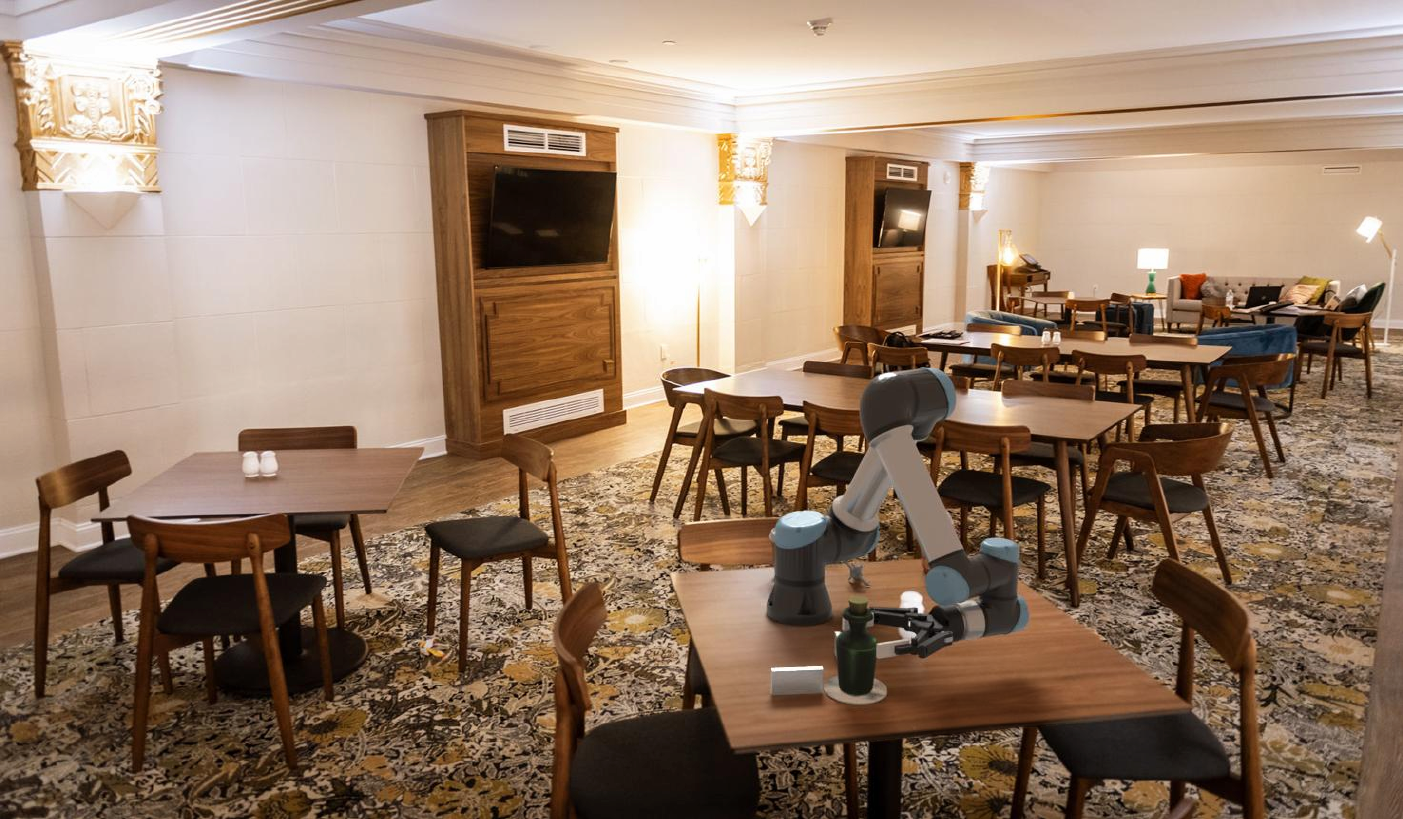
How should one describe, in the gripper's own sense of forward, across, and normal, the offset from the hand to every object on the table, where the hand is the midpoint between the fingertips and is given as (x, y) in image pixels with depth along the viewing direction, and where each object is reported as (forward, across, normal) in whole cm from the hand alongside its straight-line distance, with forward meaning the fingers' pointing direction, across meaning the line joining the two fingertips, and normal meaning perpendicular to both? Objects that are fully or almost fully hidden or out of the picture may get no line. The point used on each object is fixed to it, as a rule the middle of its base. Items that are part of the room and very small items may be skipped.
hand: (859, 636), depth 185 cm
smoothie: (-51, +53, -11) cm, 74 cm away
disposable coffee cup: (-13, +63, -11) cm, 65 cm away
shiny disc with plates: (+2, +4, -11) cm, 12 cm away
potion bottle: (0, 0, -11) cm, 11 cm away
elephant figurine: (-27, +53, -11) cm, 61 cm away
